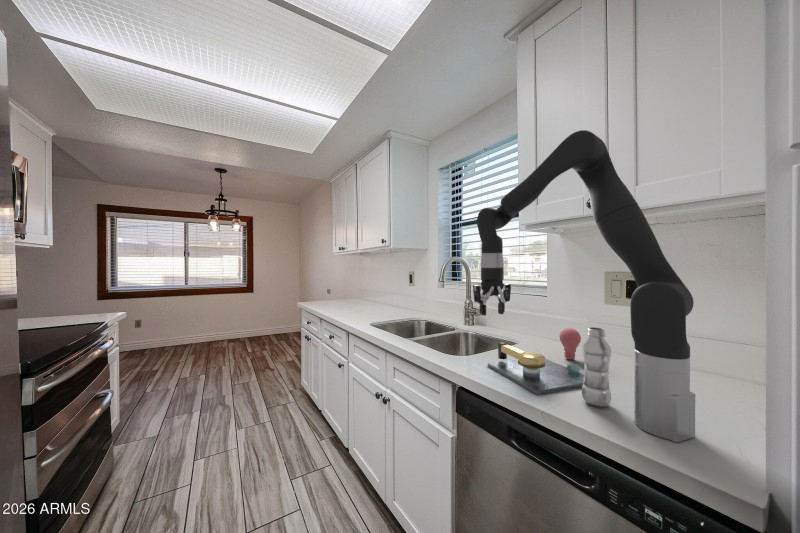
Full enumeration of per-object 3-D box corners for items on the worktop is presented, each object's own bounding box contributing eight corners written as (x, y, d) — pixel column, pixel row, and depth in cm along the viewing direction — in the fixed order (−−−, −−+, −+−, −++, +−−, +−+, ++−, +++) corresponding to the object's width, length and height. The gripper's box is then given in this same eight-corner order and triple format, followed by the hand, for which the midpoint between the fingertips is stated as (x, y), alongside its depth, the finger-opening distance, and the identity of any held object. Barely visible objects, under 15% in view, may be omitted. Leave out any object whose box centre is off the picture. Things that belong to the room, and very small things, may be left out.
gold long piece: (551, 375, 90) (551, 357, 89) (530, 378, 87) (529, 360, 87) (508, 355, 109) (508, 341, 109) (490, 357, 106) (490, 343, 106)
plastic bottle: (575, 400, 78) (575, 327, 78) (593, 396, 81) (593, 325, 80) (599, 412, 72) (599, 332, 72) (617, 407, 75) (617, 330, 74)
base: (597, 384, 89) (597, 367, 89) (537, 395, 82) (537, 377, 82) (538, 359, 112) (538, 346, 111) (487, 366, 105) (487, 352, 105)
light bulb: (575, 356, 114) (574, 326, 114) (584, 362, 107) (584, 330, 107) (556, 356, 115) (556, 326, 115) (564, 362, 108) (564, 330, 108)
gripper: (479, 267, 94) (480, 318, 94) (516, 266, 98) (517, 315, 99) (468, 266, 101) (468, 314, 101) (502, 266, 105) (503, 311, 106)
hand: (492, 314), depth 100 cm, fingers open, 6 cm apart
